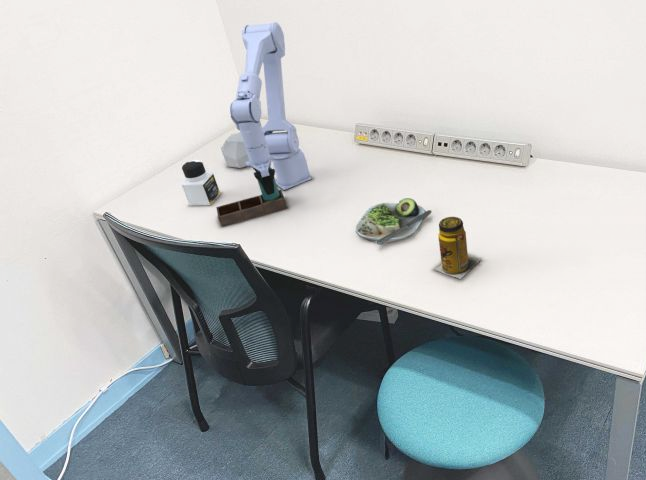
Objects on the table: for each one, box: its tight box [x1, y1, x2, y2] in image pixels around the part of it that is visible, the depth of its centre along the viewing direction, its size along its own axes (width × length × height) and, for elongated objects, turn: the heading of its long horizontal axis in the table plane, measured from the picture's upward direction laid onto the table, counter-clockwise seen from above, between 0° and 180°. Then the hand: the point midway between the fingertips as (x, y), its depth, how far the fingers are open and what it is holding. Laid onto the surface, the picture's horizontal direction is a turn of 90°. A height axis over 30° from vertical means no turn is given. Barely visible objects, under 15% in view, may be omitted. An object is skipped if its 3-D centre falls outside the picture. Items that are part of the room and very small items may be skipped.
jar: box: [255, 166, 279, 201], centre depth 168 cm, size 5×5×8 cm
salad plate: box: [355, 197, 432, 246], centre depth 153 cm, size 19×18×5 cm
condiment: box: [433, 216, 482, 280], centre depth 135 cm, size 7×8×12 cm
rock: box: [220, 131, 249, 169], centre depth 199 cm, size 18×20×10 cm
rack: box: [215, 189, 288, 228], centre depth 171 cm, size 19×7×3 cm, turn 108°
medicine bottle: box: [181, 159, 221, 207], centre depth 178 cm, size 7×7×12 cm
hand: (269, 189), depth 169 cm, fingers closed on jar, 4 cm apart
